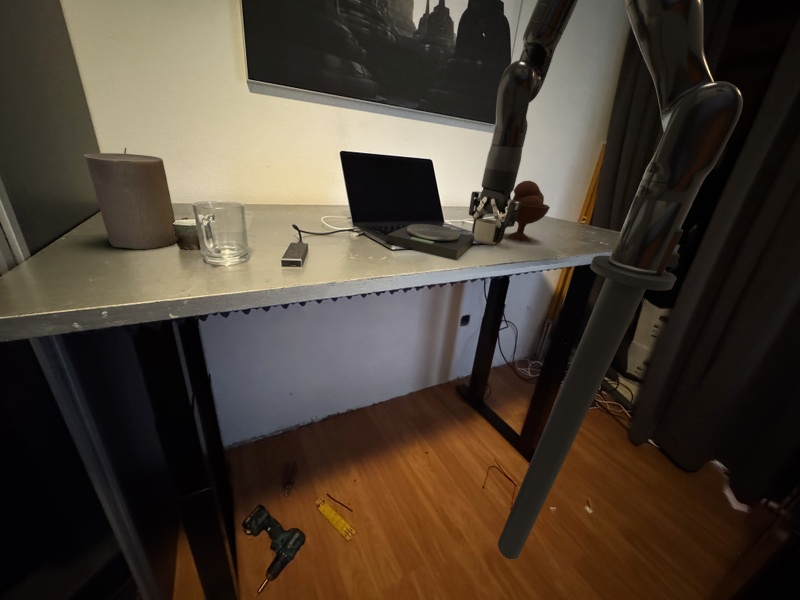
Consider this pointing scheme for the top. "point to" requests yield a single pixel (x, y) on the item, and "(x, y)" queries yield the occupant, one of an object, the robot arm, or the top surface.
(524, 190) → the ice cream bowl
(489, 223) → the squat beige cylinder
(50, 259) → the top surface
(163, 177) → the pillar candle
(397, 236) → the scale
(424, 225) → the scale pan
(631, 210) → the robot arm
